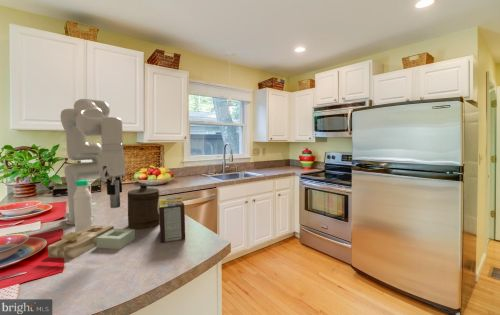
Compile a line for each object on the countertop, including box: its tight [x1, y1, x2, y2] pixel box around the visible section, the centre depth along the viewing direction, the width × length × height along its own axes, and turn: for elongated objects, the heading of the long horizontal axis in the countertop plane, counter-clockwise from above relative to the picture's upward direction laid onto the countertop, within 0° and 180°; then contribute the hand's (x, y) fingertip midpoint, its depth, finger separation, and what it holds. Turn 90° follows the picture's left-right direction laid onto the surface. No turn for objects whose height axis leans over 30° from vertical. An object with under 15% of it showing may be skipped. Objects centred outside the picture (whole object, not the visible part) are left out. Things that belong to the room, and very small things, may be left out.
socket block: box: [47, 225, 115, 259], centre depth 100 cm, size 10×22×5 cm, turn 173°
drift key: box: [60, 231, 81, 243], centre depth 94 cm, size 4×4×5 cm
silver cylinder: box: [109, 180, 121, 209], centre depth 100 cm, size 4×4×11 cm
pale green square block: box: [96, 228, 136, 250], centre depth 101 cm, size 10×10×5 cm
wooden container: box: [127, 182, 160, 231], centre depth 124 cm, size 15×15×22 cm
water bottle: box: [73, 180, 94, 233], centre depth 114 cm, size 7×7×25 cm
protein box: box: [159, 197, 186, 244], centre depth 112 cm, size 10×15×16 cm
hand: (114, 193), depth 100 cm, fingers closed on silver cylinder, 3 cm apart
